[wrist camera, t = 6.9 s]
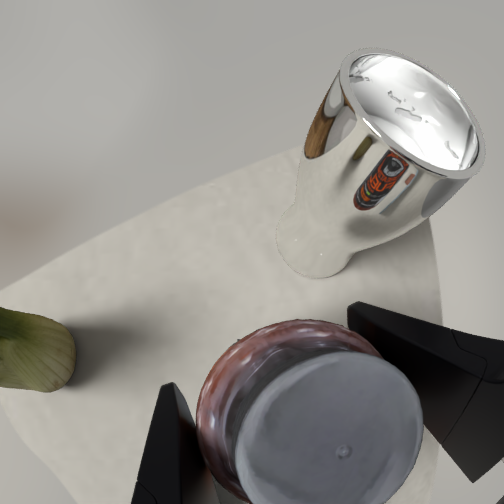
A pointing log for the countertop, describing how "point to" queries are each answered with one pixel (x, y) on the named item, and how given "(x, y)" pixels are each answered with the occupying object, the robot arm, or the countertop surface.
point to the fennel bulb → (34, 352)
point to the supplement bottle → (308, 418)
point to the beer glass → (376, 160)
